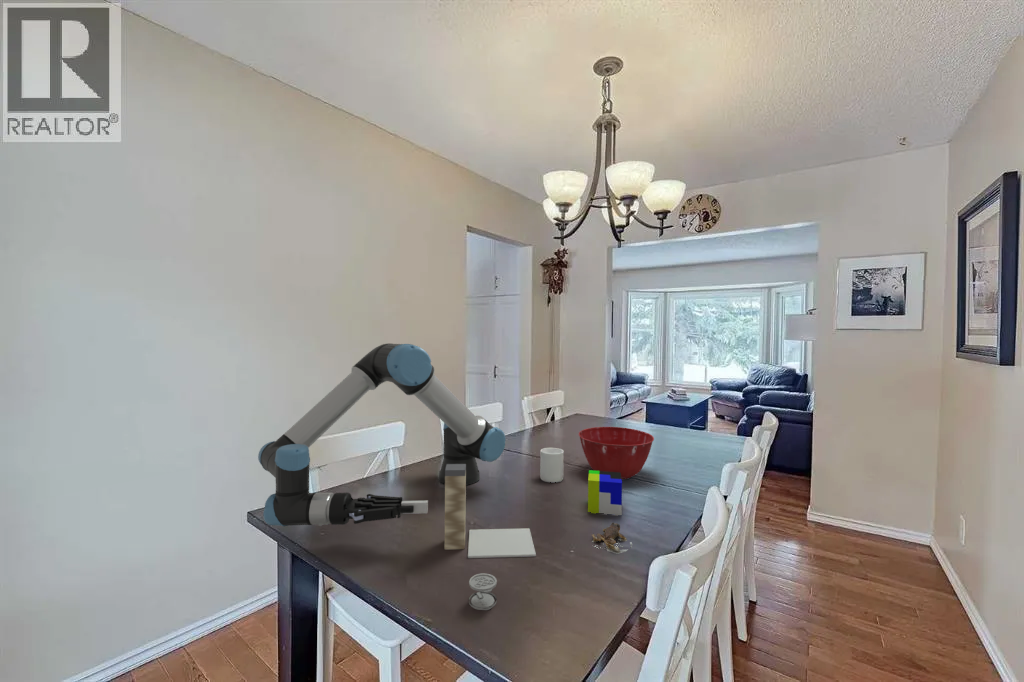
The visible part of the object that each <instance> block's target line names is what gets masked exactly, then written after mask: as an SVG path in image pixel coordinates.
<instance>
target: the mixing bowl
mask: <svg viewBox="0 0 1024 682" xmlns="http://www.w3.org/2000/svg"><path fill="white" fill-rule="evenodd" d="M578 437H579V440H580V444H581V448H582V452H583V454H584V456H585V459H586V461H587V463H588V464H589V466H590V468H591V470H593V471H607V472H621V479H623V480H629V479H631V478H633V477H634V476H636V475H638V474H639V473H640V471H642V469H643V467H644V466H645V463H646V462H647V460H648V457H649V455H650V452H651V449H652V446H653V442H654V440H655V437H654V436H653V435H652V434H650V433H648V432H645V431H644V430H643V431H642V430H640V429H639V430H638V429H635V428H629V427H619V426H597V427H595V426H594V427H588V428H585V429H582V430H579V432H578ZM628 478H629V479H628Z"/></svg>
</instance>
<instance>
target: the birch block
mask: <svg viewBox="0 0 1024 682" xmlns="http://www.w3.org/2000/svg"><path fill="white" fill-rule="evenodd" d="M466 486H467V485H466V464H447V465H446V469H445V484H444V550H465V548H466V511H467V510H466V509H467V508H466V502H467V501H466V500H467V499H466V498H467V496H466V495H467V493H466V492H467V490H466V489H467V488H466Z"/></svg>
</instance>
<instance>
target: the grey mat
mask: <svg viewBox="0 0 1024 682" xmlns="http://www.w3.org/2000/svg"><path fill="white" fill-rule="evenodd" d="M533 541H534V540H533V538H532V533H531V529H530V528H529V527H528V528H523V527H522V528H491V529H490V528H483V529H469V533H468V547H467V549H468V550H467V559H485V558H486V559H487V558H488V559H489V558H492V559H493V558H523V557H524V558H525V557H527V558H529V557H537V554H536V549H535V546H534V542H533Z"/></svg>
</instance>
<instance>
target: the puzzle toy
mask: <svg viewBox="0 0 1024 682" xmlns="http://www.w3.org/2000/svg"><path fill="white" fill-rule="evenodd" d="M587 480H588V481H587V513H588V512H591V513H590V514H596V513H604V514H603V515H607V514H615V515H614V516H618V515H622V509H623V508H622V507H623V503H622V502H623V480H622V479H621V472H607V471H594V470H593V469H591V470H590V469H589V470H588V479H587Z"/></svg>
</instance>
